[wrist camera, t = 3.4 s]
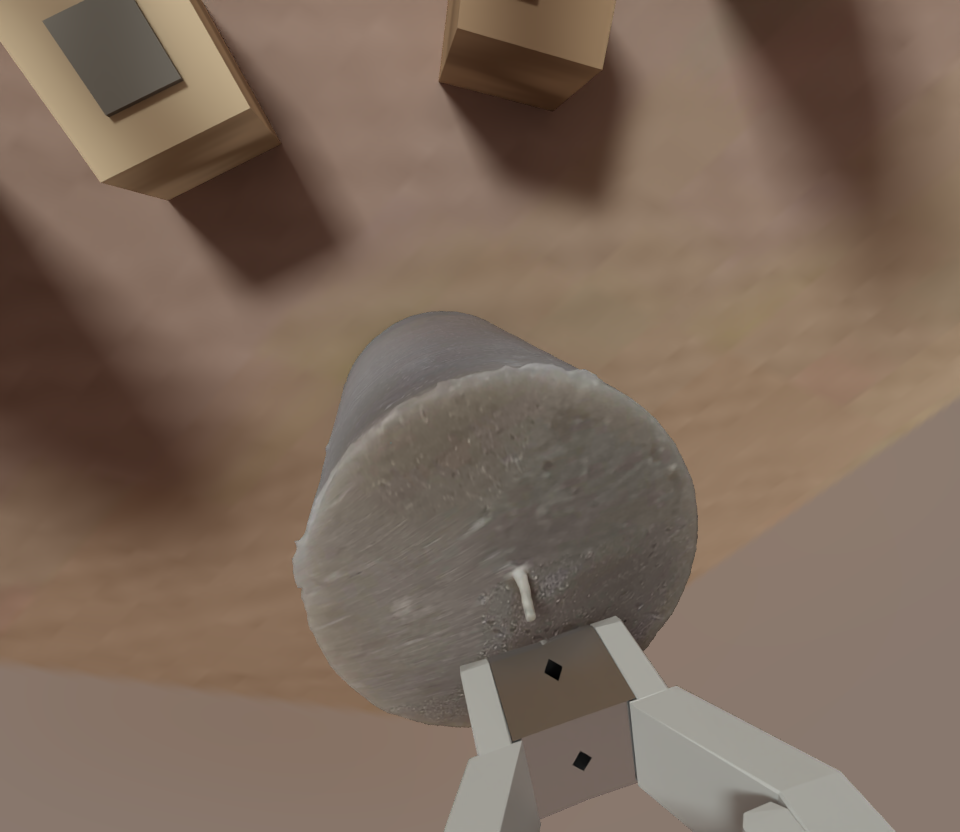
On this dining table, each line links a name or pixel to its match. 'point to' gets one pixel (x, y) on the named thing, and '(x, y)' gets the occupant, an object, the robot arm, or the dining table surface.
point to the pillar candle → (483, 513)
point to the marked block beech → (139, 88)
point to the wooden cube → (525, 47)
